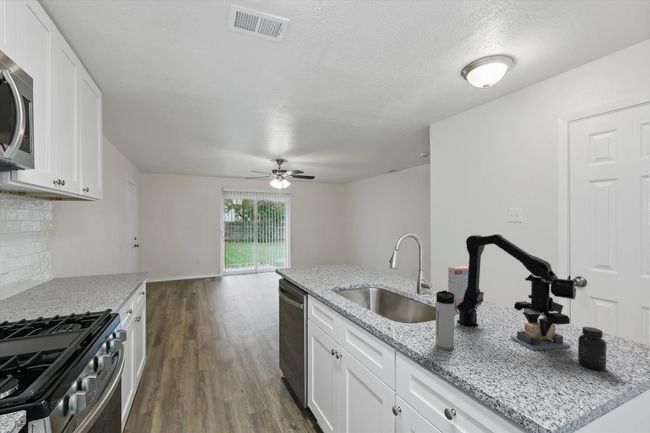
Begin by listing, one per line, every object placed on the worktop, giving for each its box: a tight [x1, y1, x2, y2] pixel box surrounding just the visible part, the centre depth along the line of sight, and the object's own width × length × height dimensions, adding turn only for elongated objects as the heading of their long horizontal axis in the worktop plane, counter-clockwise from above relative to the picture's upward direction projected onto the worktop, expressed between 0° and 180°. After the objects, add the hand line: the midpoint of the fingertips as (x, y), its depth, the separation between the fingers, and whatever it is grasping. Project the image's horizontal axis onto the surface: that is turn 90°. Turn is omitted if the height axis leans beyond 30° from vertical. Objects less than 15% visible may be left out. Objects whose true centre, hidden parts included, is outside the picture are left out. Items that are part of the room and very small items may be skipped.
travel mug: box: [435, 290, 455, 351], centre depth 110 cm, size 6×7×20 cm
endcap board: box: [510, 330, 571, 351], centre depth 114 cm, size 16×10×4 cm, turn 101°
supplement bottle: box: [577, 326, 608, 372], centre depth 97 cm, size 7×7×12 cm
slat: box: [524, 321, 556, 339], centre depth 115 cm, size 10×4×5 cm, turn 101°
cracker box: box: [447, 265, 469, 309], centre depth 162 cm, size 14×6×21 cm, turn 106°
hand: (539, 334), depth 115 cm, fingers closed on slat, 3 cm apart
